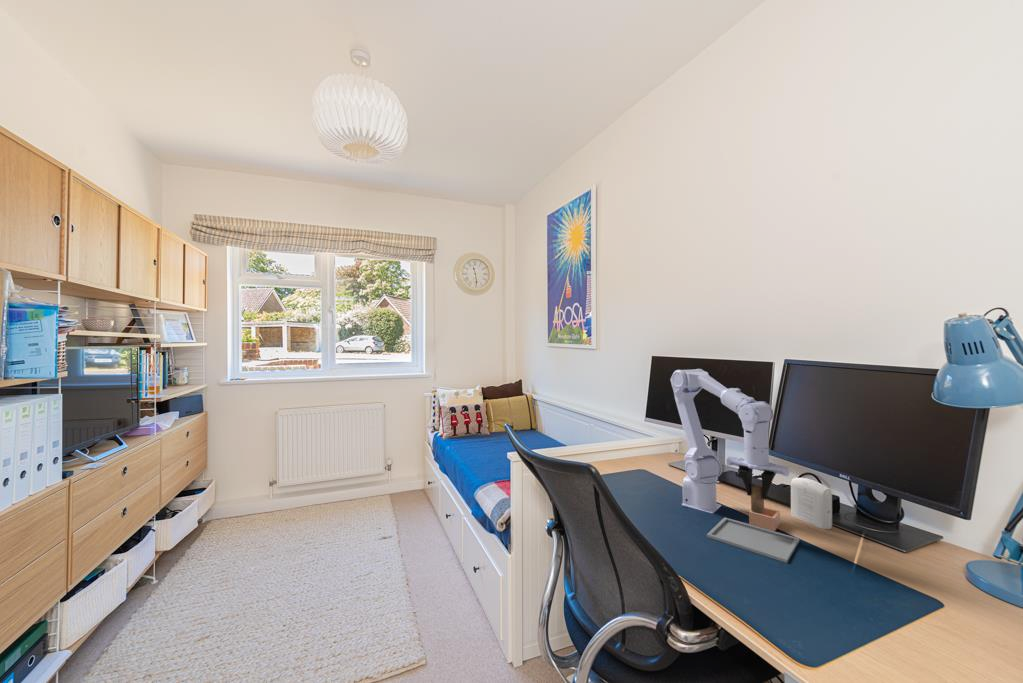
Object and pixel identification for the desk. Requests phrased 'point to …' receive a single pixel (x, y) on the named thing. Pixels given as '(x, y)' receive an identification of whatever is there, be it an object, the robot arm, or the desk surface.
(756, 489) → the pin
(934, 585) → the desk surface
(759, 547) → the tray
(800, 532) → the desk surface
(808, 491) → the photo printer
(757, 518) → the tan open box
